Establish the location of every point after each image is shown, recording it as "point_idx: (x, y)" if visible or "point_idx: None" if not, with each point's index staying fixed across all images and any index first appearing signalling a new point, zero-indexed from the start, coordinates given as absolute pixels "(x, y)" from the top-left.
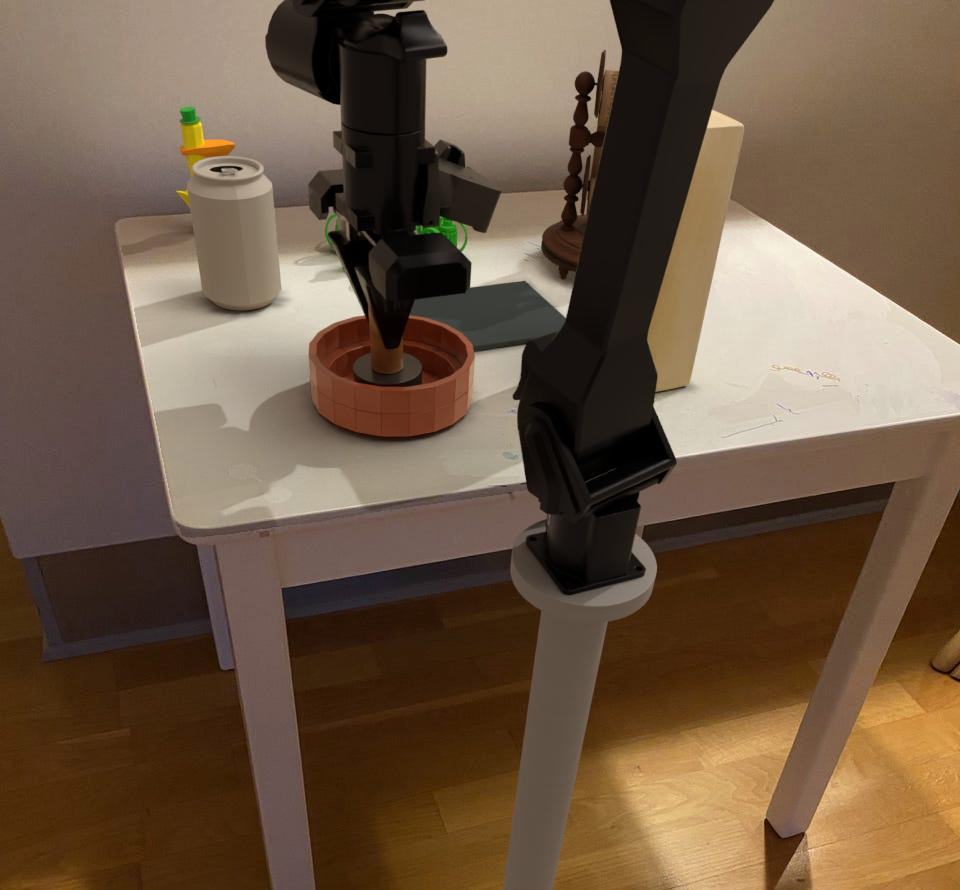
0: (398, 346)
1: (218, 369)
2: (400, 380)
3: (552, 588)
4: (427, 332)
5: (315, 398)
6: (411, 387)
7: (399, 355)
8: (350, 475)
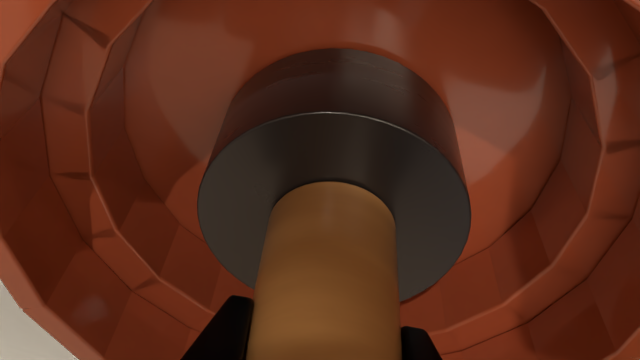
0: (426, 333)
1: (14, 351)
2: (449, 242)
3: None
4: None
5: None
6: (633, 347)
7: (396, 269)
8: None
